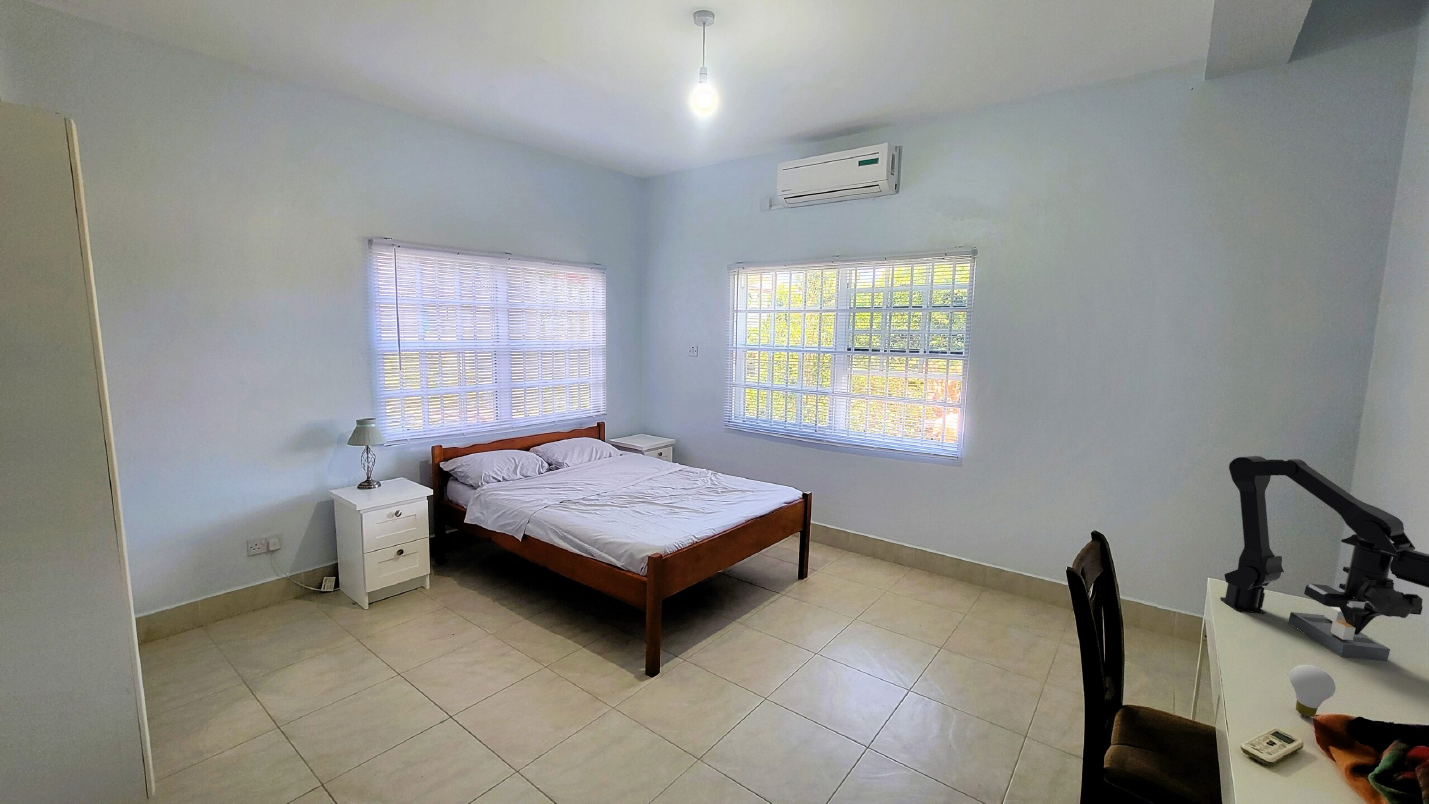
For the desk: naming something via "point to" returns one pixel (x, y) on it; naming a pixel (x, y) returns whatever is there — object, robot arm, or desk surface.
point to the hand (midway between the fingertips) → (1353, 633)
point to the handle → (1334, 613)
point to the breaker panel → (1320, 632)
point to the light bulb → (1311, 688)
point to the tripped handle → (1342, 630)
